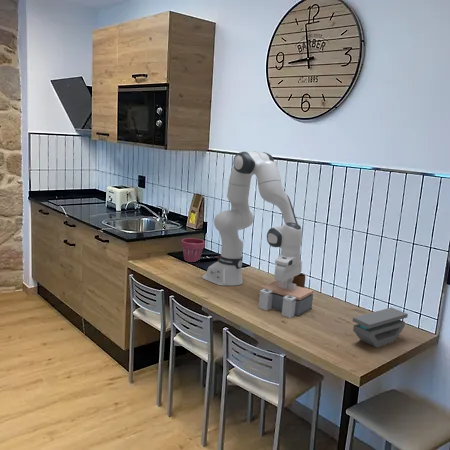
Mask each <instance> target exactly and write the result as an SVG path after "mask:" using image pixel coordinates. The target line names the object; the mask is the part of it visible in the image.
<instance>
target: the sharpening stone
mask: <svg viewBox="0 0 450 450" xmlns="http://www.w3.org/2000/svg"><path fill="white" fill-rule="evenodd" d="M408 315H409V314H408V313H407V312H404V311H402V310H400V309H396V308H394V307H387V308H384V309H380V310H377V311H373V312H369V313H364V314H361V315H358V316H353V317H352V322H353V323H355V324H353V327H352V328H353V329H352V332H354V334H356V337H358V338H359V340H360V341H362V342H364V343H366V344H367V345H370V346H372V347H375V348H377V347H378V348H380V346H381V347H383V345H384V346H386V344H387V345H389V344H392V343H394V342H393V341H395V342H396V340H397V338H398V337H399V335H400V334H401V333H402V331H403V329H404V328H405V324H406V321H404V320H403V319H406V318H408V317H409V316H408ZM391 342H392V343H391ZM388 343H389V344H388Z"/></svg>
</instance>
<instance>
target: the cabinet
mask: <svg viewBox="0 0 450 450" xmlns="http://www.w3.org/2000/svg"><path fill="white" fill-rule="evenodd" d="M265 291H266V292H268V289H267V288H266V289H265ZM283 297H285V296H284V295H280V294H277V293H271V294H269V295H267V294H264V293H260V292H259V301H258V302H259V303H258V308H259V309H260V310H263V311H269V310H272V309H273V310H275V311H278V312H281V316H283V317H286V318H290V319H291V318H293V317H294V316H295V317H300V316H301V315H304V314H305V313H307V312H308V311H310V310H312V308H313V299H314V293H312V294H310V295H309V296H307V297H305V298H303V299H301V300H298V299H296V300H294V301H288V300H285V299H283ZM289 298H291V295H289Z"/></svg>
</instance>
